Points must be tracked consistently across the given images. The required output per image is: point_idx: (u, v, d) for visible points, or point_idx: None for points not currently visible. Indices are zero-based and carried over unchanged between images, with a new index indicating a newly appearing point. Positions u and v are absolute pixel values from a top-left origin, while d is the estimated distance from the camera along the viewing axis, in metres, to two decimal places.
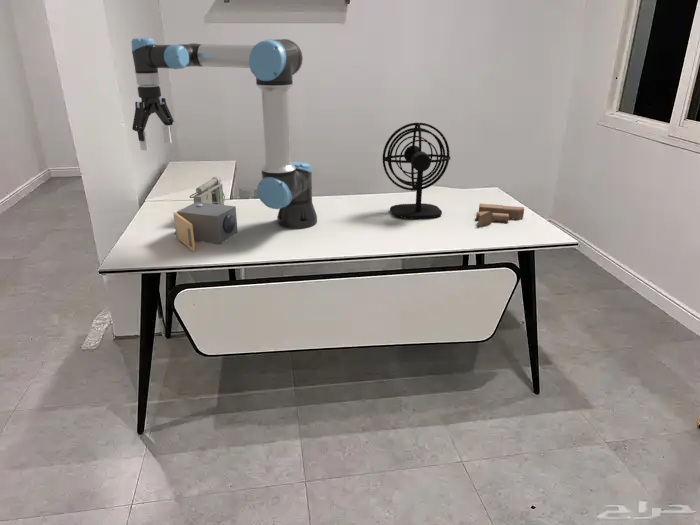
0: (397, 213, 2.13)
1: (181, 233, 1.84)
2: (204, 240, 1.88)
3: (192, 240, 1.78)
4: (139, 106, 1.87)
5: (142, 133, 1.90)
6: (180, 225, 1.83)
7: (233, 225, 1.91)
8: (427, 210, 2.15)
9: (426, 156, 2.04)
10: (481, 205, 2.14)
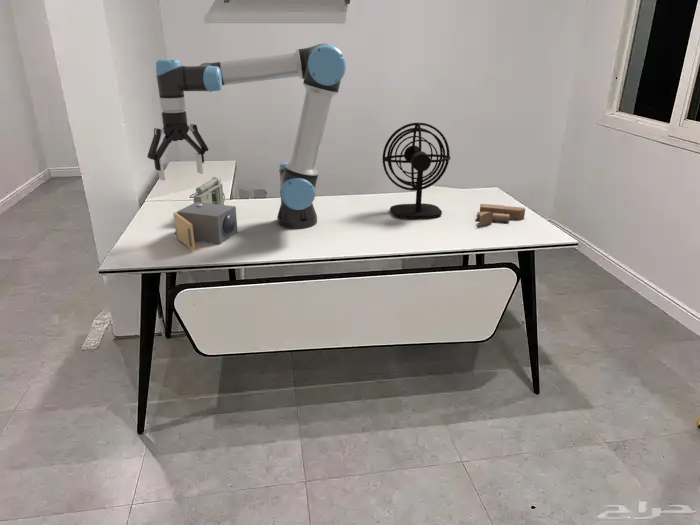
0: (397, 213, 2.13)
1: (181, 233, 1.84)
2: (204, 240, 1.88)
3: (192, 240, 1.78)
4: (156, 133, 1.72)
5: (158, 162, 1.75)
6: (180, 225, 1.83)
7: (233, 225, 1.91)
8: (427, 210, 2.15)
9: (426, 156, 2.04)
10: (482, 205, 2.14)
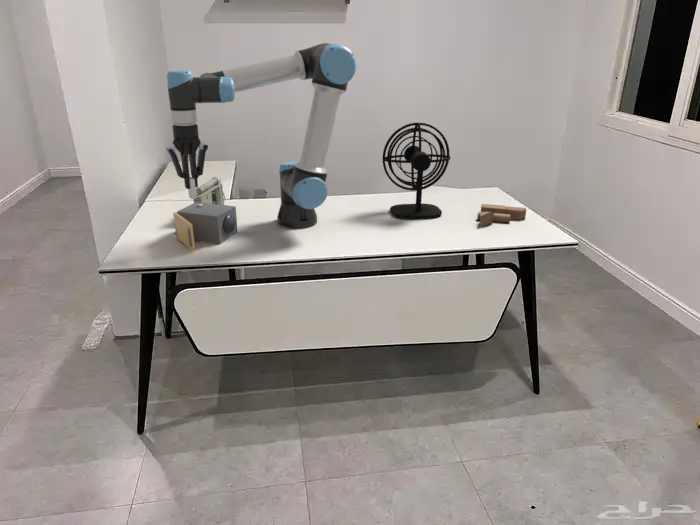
0: (397, 213, 2.13)
1: (181, 233, 1.84)
2: (204, 240, 1.88)
3: (192, 240, 1.78)
4: (170, 154, 1.67)
5: (188, 180, 1.73)
6: (180, 225, 1.83)
7: (233, 225, 1.91)
8: (427, 210, 2.15)
9: (426, 156, 2.04)
10: (483, 205, 2.14)
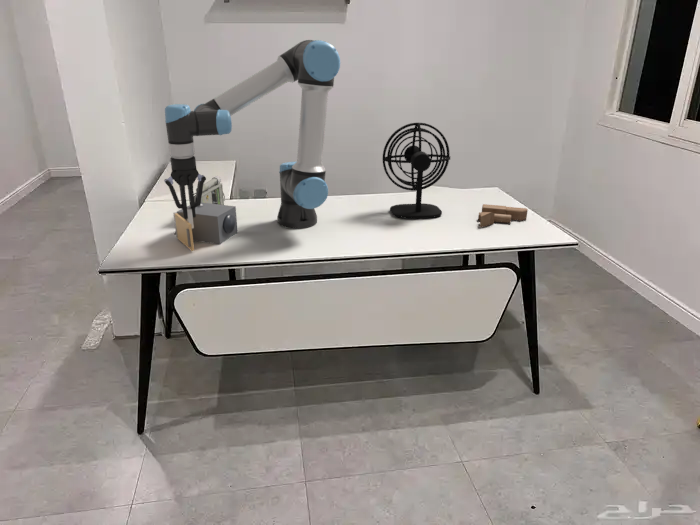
0: (397, 213, 2.13)
1: (181, 233, 1.84)
2: (204, 240, 1.88)
3: (191, 240, 1.77)
4: None
5: (185, 211, 1.76)
6: (180, 225, 1.83)
7: (233, 225, 1.91)
8: (427, 210, 2.15)
9: (426, 156, 2.04)
10: (484, 206, 2.14)
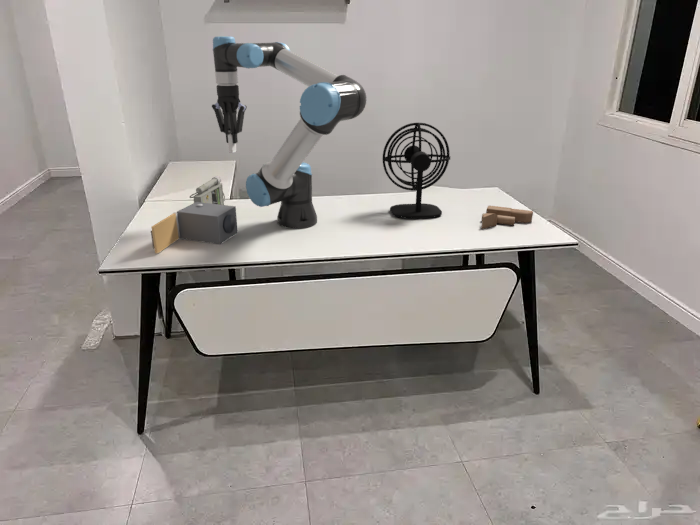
0: (397, 213, 2.13)
1: None
2: (204, 240, 1.88)
3: (154, 242, 1.75)
4: None
5: (227, 135, 1.96)
6: None
7: (233, 225, 1.91)
8: (427, 210, 2.15)
9: (426, 156, 2.04)
10: (489, 207, 2.12)
